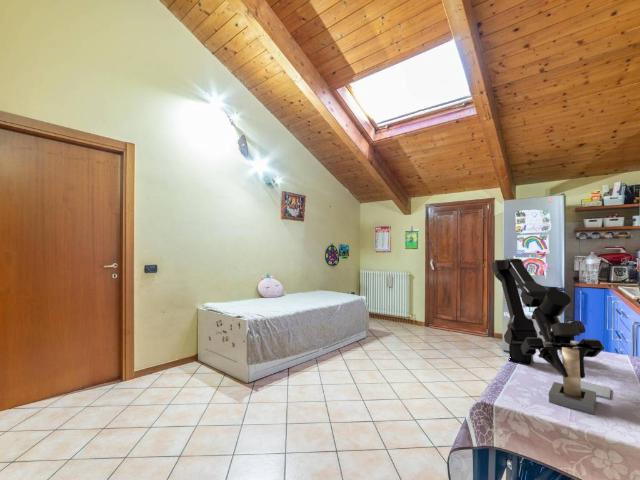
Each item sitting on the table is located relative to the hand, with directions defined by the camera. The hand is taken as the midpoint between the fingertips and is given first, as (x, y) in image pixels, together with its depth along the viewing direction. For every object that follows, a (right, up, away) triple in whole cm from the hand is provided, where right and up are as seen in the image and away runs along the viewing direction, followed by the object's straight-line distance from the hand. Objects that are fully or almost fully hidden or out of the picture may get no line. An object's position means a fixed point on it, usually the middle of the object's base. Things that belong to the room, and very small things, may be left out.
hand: (574, 377), depth 80 cm
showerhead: (+23, -8, +30) cm, 38 cm away
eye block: (0, -7, +1) cm, 7 cm away
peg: (0, -7, +1) cm, 7 cm away
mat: (+11, -7, +7) cm, 15 cm away
